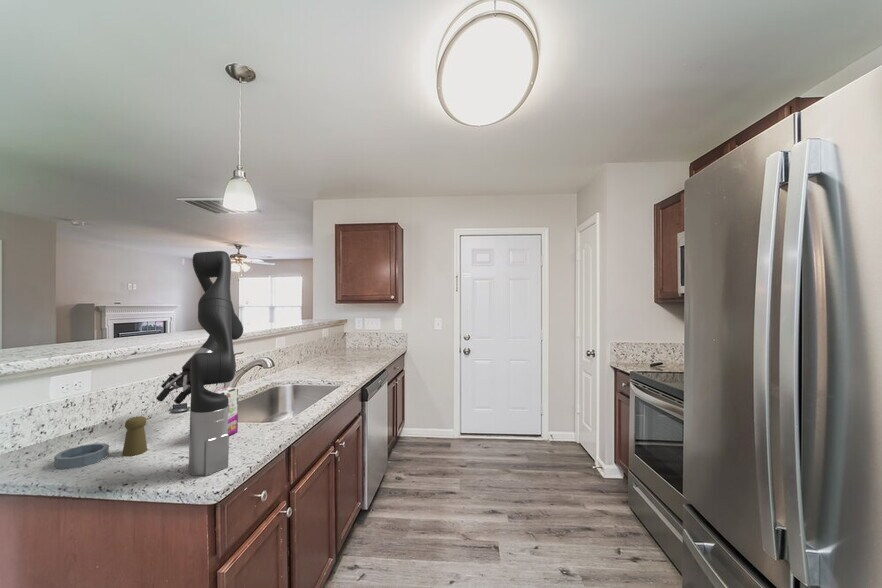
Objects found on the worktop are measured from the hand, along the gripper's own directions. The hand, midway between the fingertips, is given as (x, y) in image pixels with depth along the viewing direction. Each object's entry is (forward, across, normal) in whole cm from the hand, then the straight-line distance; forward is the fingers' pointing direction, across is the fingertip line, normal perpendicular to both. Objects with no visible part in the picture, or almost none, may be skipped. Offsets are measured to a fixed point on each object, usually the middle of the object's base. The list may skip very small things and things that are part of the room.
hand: (167, 401), depth 119 cm
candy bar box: (+4, +14, +16) cm, 22 cm away
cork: (+16, 0, +3) cm, 17 cm away
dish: (+22, -9, -3) cm, 24 cm away
